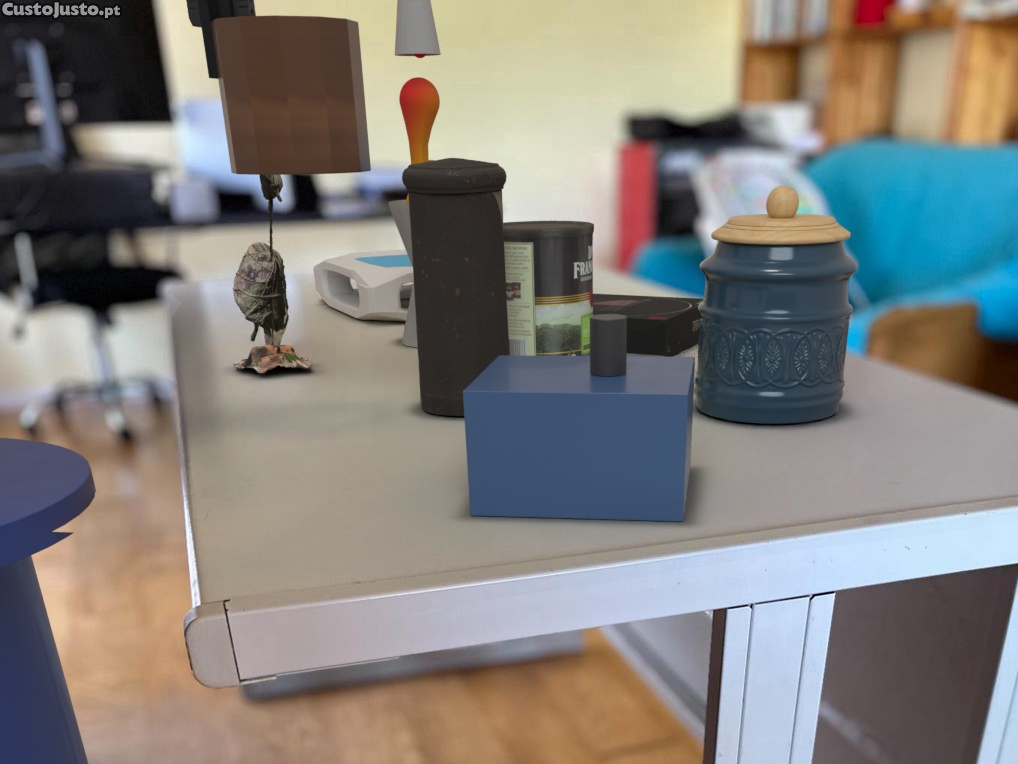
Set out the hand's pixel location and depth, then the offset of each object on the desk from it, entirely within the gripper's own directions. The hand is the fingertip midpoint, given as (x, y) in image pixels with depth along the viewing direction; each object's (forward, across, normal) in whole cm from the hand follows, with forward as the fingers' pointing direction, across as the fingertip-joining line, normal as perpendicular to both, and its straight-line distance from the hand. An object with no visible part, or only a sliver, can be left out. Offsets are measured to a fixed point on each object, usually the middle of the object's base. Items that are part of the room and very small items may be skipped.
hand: (231, 77), depth 84 cm
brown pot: (+7, -5, 0) cm, 8 cm away
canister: (+26, -43, -6) cm, 51 cm away
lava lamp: (+26, -6, -39) cm, 47 cm away
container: (+26, -16, -5) cm, 31 cm away
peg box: (+26, -30, +20) cm, 44 cm away
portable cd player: (+26, -28, -39) cm, 54 cm away
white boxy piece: (+26, +4, -66) cm, 71 cm away
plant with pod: (+26, +9, -22) cm, 35 cm away
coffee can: (+26, -21, -18) cm, 38 cm away
